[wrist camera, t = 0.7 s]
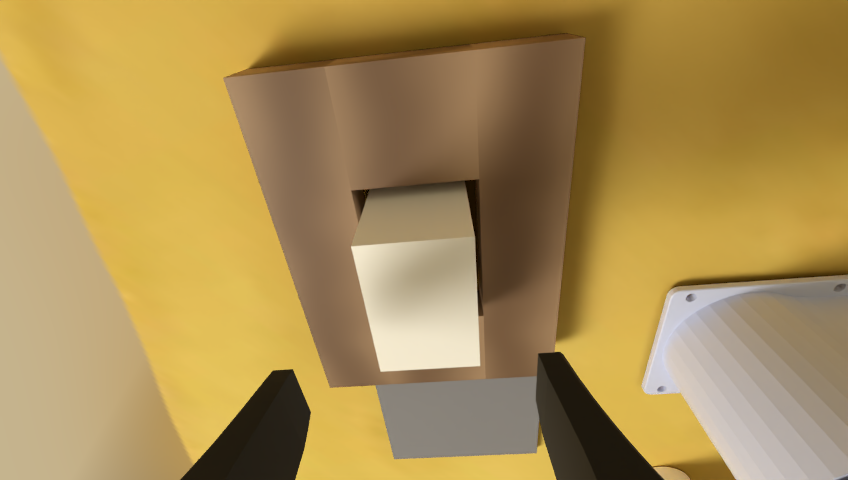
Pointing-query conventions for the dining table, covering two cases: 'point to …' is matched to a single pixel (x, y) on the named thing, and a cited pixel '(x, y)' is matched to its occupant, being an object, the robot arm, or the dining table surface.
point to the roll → (671, 473)
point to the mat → (461, 417)
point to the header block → (421, 182)
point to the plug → (419, 276)
